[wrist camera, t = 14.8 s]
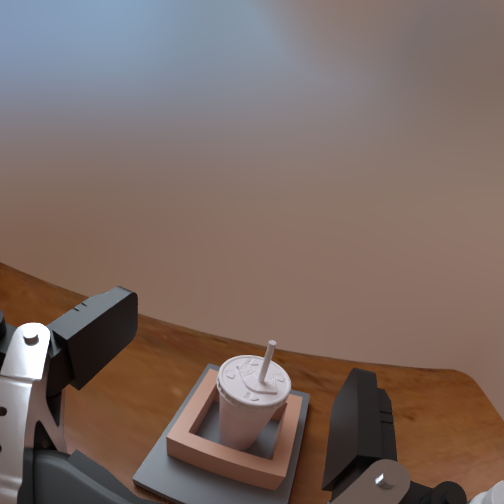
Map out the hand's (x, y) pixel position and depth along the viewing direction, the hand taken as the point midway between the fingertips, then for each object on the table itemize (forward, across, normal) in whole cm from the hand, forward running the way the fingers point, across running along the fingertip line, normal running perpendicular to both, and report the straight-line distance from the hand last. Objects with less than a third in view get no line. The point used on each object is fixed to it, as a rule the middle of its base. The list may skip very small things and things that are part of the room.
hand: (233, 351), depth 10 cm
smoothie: (+10, -1, +21) cm, 23 cm away
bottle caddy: (+11, -1, +22) cm, 25 cm away
